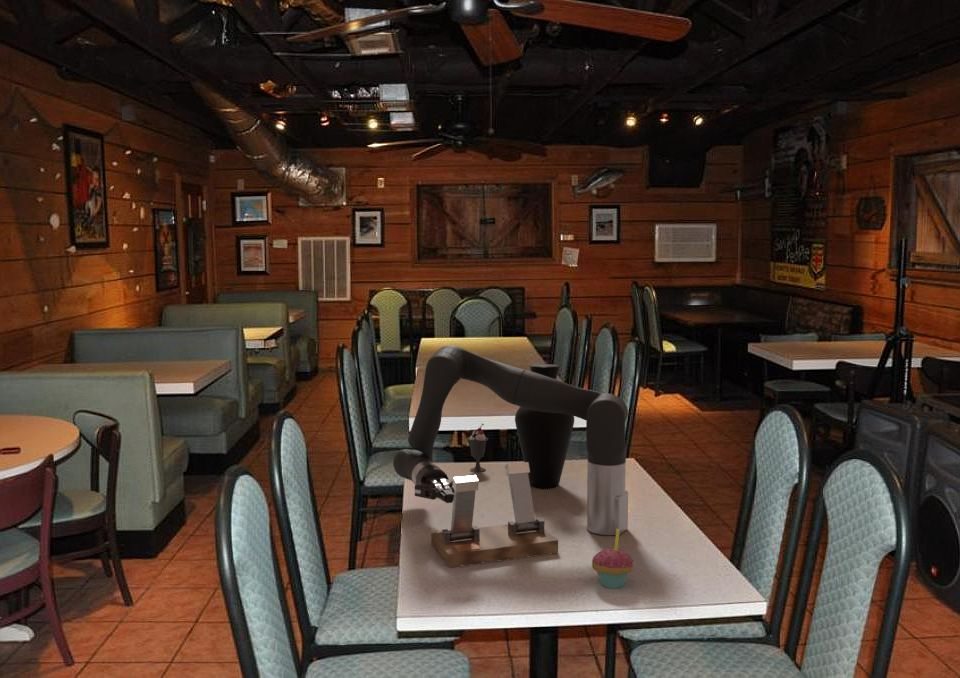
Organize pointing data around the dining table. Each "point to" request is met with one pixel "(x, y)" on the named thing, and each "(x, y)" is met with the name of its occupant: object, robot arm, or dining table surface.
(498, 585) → the dining table surface
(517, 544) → the switch base
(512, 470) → the inner lever
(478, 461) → the sundae
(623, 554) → the cupcake
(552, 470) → the vase
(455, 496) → the outer lever
